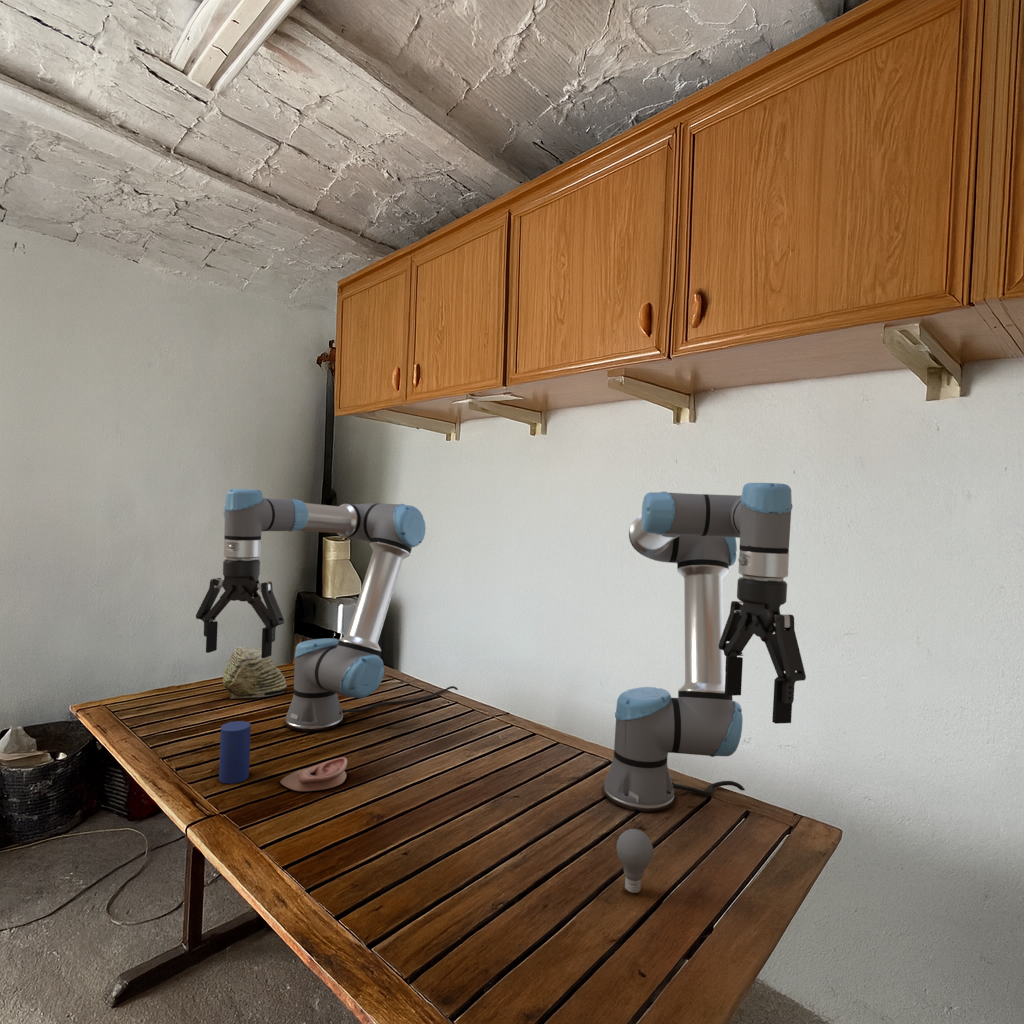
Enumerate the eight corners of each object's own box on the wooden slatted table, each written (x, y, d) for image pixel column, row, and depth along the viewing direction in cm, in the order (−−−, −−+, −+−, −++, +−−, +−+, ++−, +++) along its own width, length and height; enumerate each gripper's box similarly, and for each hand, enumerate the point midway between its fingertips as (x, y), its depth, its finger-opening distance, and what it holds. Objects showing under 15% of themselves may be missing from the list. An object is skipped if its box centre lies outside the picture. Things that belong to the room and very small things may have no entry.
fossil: (218, 695, 195) (220, 647, 195) (278, 685, 208) (279, 640, 207) (228, 703, 189) (230, 653, 188) (289, 692, 201) (290, 645, 201)
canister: (249, 770, 145) (251, 720, 145) (248, 781, 139) (250, 729, 139) (220, 773, 143) (221, 722, 143) (217, 785, 137) (219, 731, 137)
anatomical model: (273, 769, 136) (301, 749, 148) (272, 787, 136) (300, 766, 148) (329, 777, 134) (353, 756, 145) (329, 796, 134) (353, 773, 145)
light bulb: (610, 879, 108) (613, 822, 108) (644, 879, 109) (647, 822, 109) (619, 902, 102) (622, 840, 102) (655, 901, 103) (658, 840, 103)
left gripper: (180, 556, 139) (177, 652, 139) (284, 563, 134) (280, 663, 134) (203, 554, 146) (200, 645, 146) (302, 560, 141) (298, 655, 142)
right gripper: (702, 568, 114) (696, 685, 115) (790, 588, 90) (783, 737, 90) (740, 569, 116) (734, 684, 116) (836, 589, 91) (829, 735, 92)
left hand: (238, 654), depth 140 cm, fingers open, 13 cm apart
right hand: (755, 708), depth 103 cm, fingers open, 13 cm apart
